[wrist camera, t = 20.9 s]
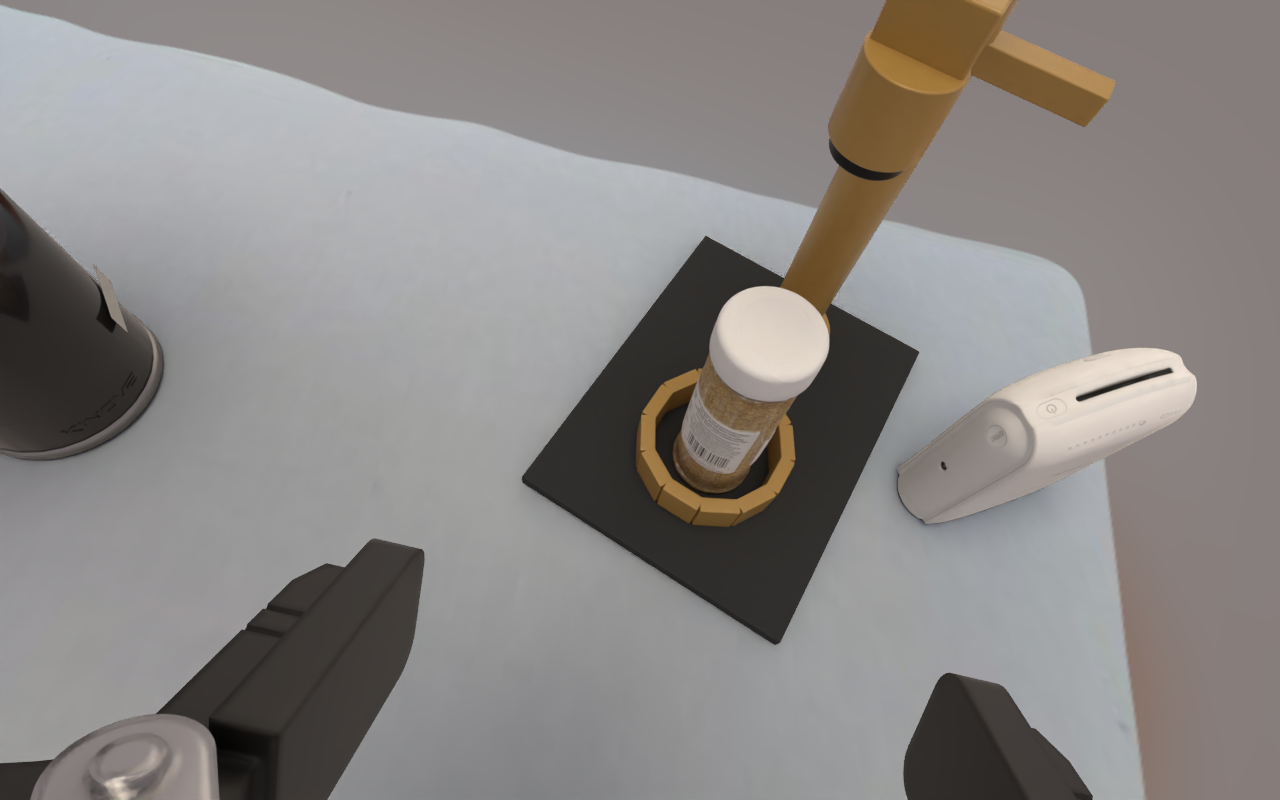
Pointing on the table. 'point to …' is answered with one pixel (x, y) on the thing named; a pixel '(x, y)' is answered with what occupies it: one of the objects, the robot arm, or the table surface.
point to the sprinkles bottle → (748, 384)
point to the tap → (880, 180)
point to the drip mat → (811, 496)
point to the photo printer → (1045, 431)
